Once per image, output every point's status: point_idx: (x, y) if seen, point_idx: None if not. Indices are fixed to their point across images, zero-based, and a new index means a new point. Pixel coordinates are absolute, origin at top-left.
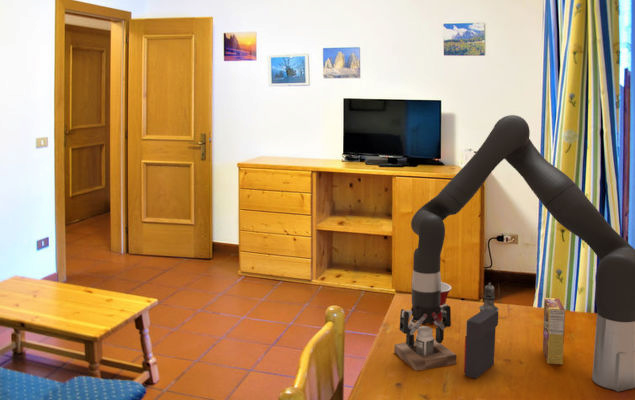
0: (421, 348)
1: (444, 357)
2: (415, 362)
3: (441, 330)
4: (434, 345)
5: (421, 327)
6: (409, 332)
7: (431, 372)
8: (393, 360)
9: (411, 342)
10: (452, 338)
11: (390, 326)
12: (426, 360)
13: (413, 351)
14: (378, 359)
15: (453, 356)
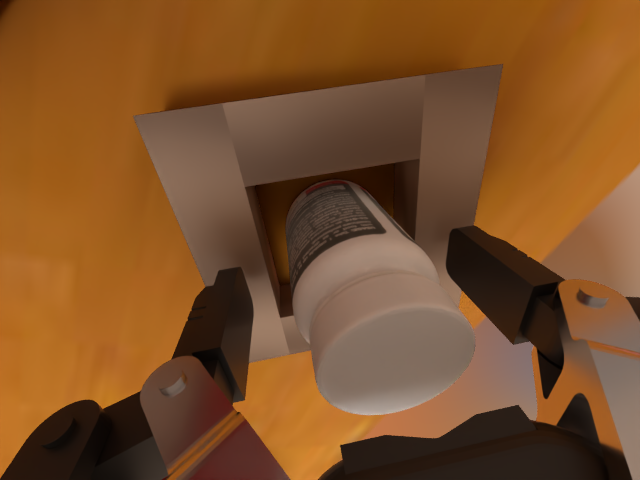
0: (394, 221)
1: (251, 99)
2: (496, 73)
3: (200, 355)
4: (261, 288)
5: (409, 396)
6: (618, 302)
7: (379, 14)
8: (479, 227)
9: (498, 246)
10: (126, 385)
11: (337, 451)
12: (412, 77)
13: (418, 233)
14: (527, 247)
15: (165, 112)
